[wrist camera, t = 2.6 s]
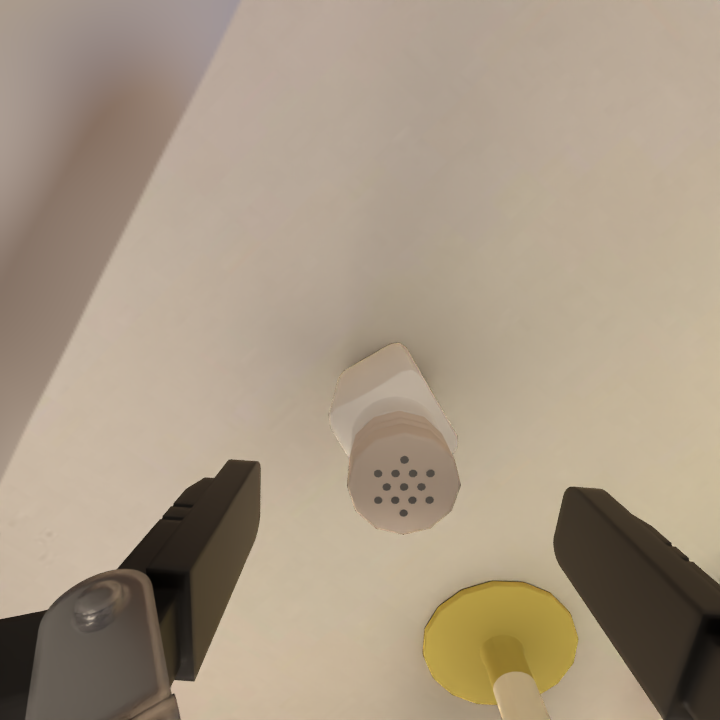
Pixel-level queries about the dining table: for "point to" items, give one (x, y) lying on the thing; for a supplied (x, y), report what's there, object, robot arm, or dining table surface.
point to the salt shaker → (395, 443)
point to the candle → (501, 646)
